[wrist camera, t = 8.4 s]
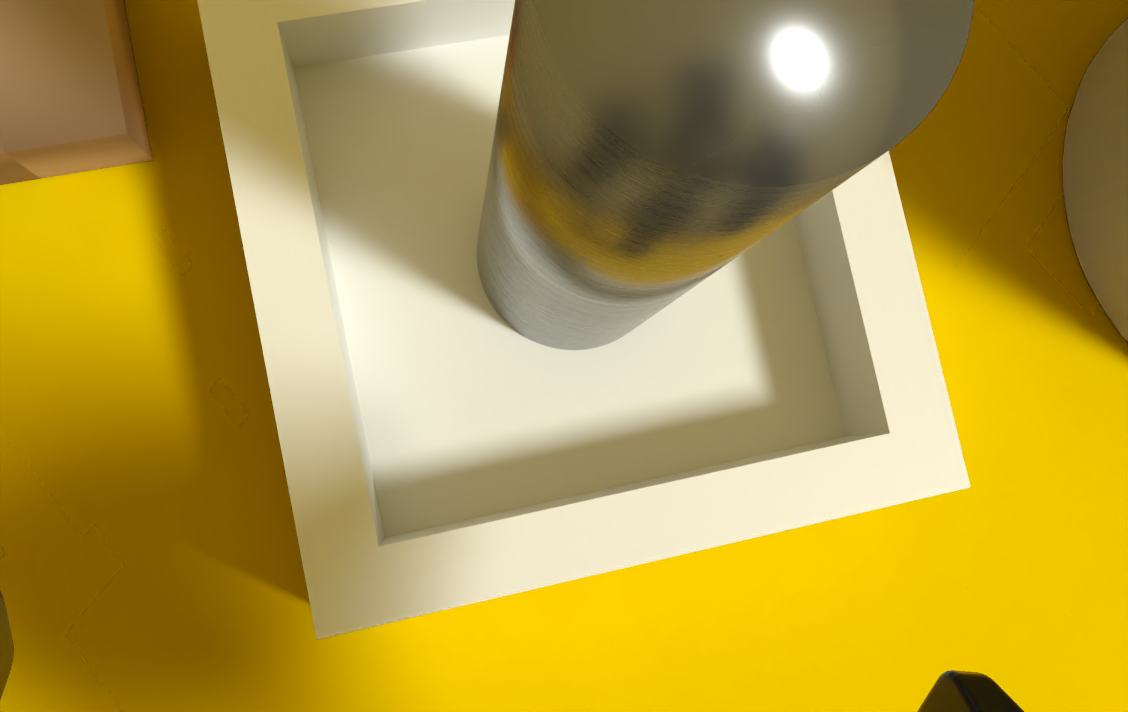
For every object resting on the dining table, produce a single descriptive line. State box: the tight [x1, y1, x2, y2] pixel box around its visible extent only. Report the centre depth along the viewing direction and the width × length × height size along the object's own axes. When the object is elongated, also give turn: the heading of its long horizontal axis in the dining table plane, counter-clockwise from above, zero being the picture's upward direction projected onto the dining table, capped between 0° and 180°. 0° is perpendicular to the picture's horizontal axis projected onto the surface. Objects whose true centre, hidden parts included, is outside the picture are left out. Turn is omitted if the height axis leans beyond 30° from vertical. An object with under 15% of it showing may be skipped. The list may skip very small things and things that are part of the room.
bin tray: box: [197, 0, 970, 639], centre depth 18 cm, size 11×11×2 cm
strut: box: [477, 0, 974, 350], centre depth 13 cm, size 4×4×11 cm
